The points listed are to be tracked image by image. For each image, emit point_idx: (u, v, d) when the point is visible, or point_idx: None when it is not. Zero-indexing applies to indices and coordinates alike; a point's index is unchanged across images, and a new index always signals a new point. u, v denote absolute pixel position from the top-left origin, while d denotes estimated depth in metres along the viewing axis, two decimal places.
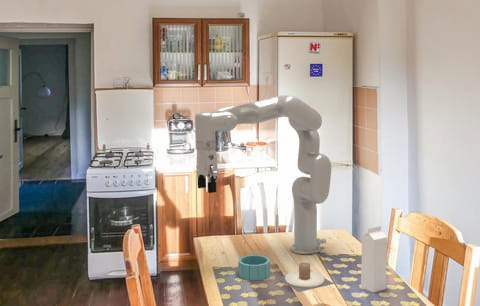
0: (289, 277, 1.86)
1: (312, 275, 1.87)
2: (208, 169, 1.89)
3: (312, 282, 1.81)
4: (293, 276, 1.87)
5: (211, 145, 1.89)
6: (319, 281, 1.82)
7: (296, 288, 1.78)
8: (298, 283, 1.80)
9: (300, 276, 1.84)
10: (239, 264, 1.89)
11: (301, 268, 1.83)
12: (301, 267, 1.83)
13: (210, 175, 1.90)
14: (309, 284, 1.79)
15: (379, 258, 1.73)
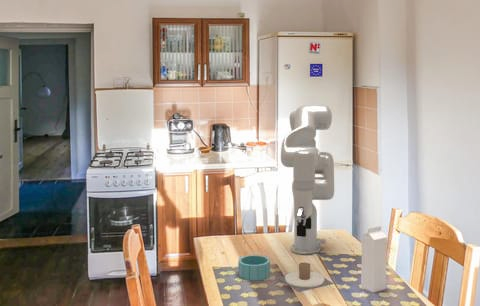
0: (289, 277, 1.86)
1: (312, 275, 1.87)
2: None
3: (312, 282, 1.81)
4: (293, 276, 1.87)
5: None
6: (319, 281, 1.82)
7: (296, 288, 1.78)
8: (298, 283, 1.80)
9: (300, 276, 1.84)
10: (239, 264, 1.89)
11: (301, 268, 1.83)
12: (301, 267, 1.83)
13: None
14: (309, 284, 1.79)
15: (379, 258, 1.73)
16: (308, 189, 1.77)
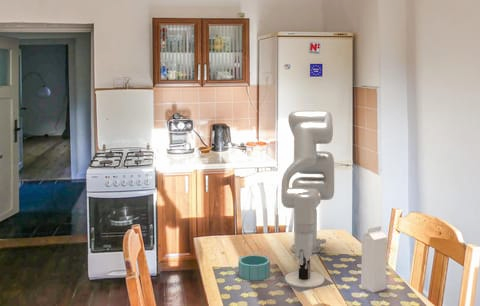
0: (289, 277, 1.86)
1: (312, 275, 1.87)
2: None
3: (312, 282, 1.81)
4: (293, 276, 1.87)
5: None
6: (319, 281, 1.82)
7: (296, 288, 1.78)
8: (298, 283, 1.80)
9: None
10: (239, 264, 1.89)
11: None
12: None
13: None
14: (309, 284, 1.79)
15: (379, 258, 1.73)
16: (309, 232, 1.79)
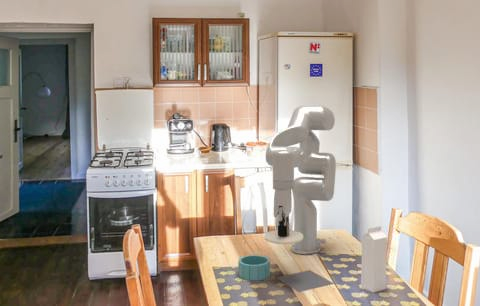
0: (268, 235, 1.86)
1: (291, 233, 1.88)
2: None
3: (291, 238, 1.81)
4: (273, 234, 1.87)
5: None
6: (298, 237, 1.83)
7: (296, 288, 1.78)
8: (277, 239, 1.81)
9: None
10: (239, 264, 1.89)
11: None
12: None
13: None
14: (288, 240, 1.80)
15: (379, 258, 1.73)
16: (287, 188, 1.80)
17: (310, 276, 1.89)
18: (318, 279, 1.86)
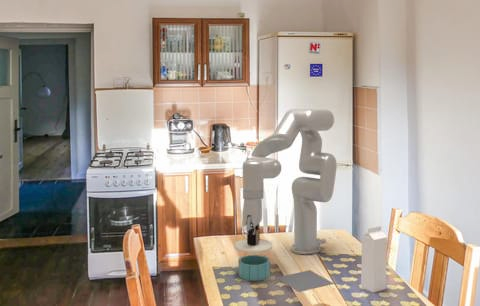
0: (238, 243, 1.91)
1: (261, 242, 1.92)
2: None
3: (259, 247, 1.86)
4: (243, 242, 1.92)
5: None
6: (267, 246, 1.87)
7: (296, 288, 1.78)
8: (246, 248, 1.85)
9: None
10: (239, 264, 1.89)
11: None
12: None
13: None
14: (256, 249, 1.84)
15: (379, 258, 1.73)
16: (256, 198, 1.84)
17: (310, 276, 1.89)
18: (318, 279, 1.86)
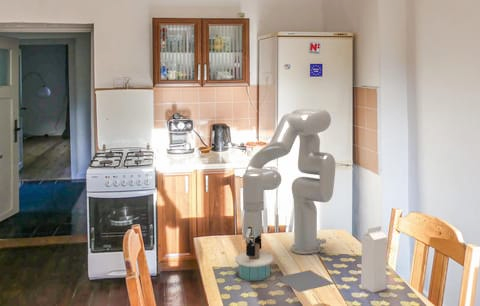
0: (239, 257, 1.92)
1: (262, 255, 1.93)
2: None
3: (260, 261, 1.87)
4: (244, 256, 1.93)
5: None
6: (268, 260, 1.88)
7: (296, 288, 1.78)
8: (246, 262, 1.86)
9: (249, 256, 1.90)
10: None
11: None
12: None
13: None
14: (257, 263, 1.85)
15: (379, 258, 1.73)
16: (256, 210, 1.85)
17: (310, 276, 1.89)
18: (318, 279, 1.86)
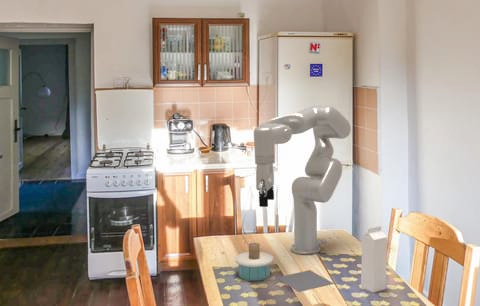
0: (239, 257, 1.92)
1: (262, 255, 1.93)
2: None
3: (260, 261, 1.87)
4: (244, 256, 1.93)
5: None
6: (268, 260, 1.88)
7: (296, 288, 1.78)
8: (246, 262, 1.86)
9: (249, 256, 1.90)
10: None
11: (250, 248, 1.89)
12: (250, 247, 1.89)
13: None
14: (257, 263, 1.85)
15: (379, 258, 1.73)
16: (268, 163, 1.92)
17: (310, 276, 1.89)
18: (318, 279, 1.86)
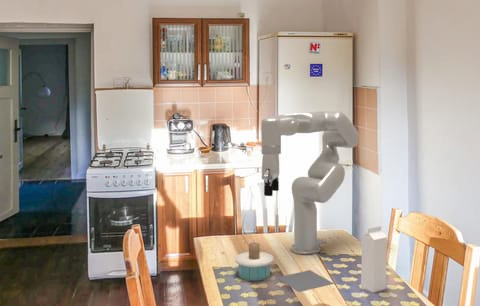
0: (239, 257, 1.92)
1: (262, 255, 1.93)
2: None
3: (260, 261, 1.87)
4: (244, 256, 1.93)
5: None
6: (268, 260, 1.88)
7: (296, 288, 1.78)
8: (246, 262, 1.86)
9: (249, 256, 1.90)
10: None
11: (250, 248, 1.89)
12: (250, 247, 1.89)
13: None
14: (257, 263, 1.85)
15: (379, 258, 1.73)
16: (274, 153, 1.96)
17: (310, 276, 1.89)
18: (318, 279, 1.86)
